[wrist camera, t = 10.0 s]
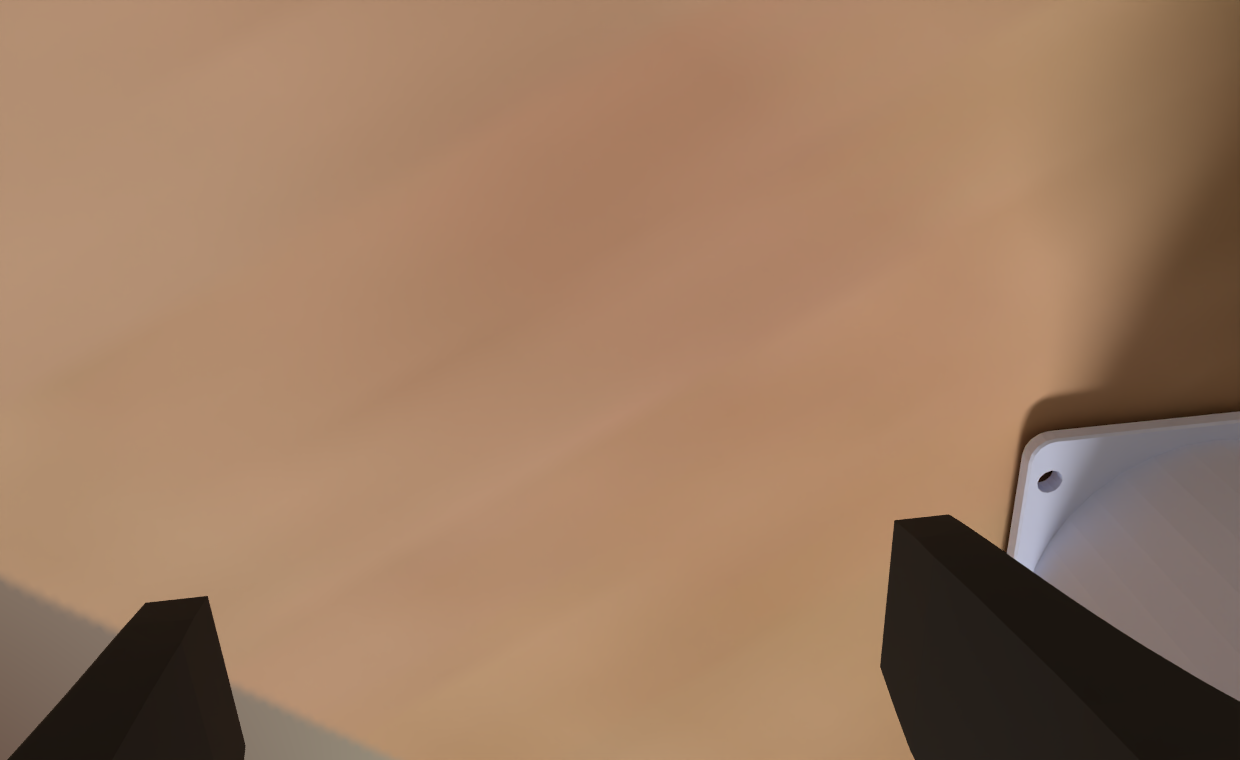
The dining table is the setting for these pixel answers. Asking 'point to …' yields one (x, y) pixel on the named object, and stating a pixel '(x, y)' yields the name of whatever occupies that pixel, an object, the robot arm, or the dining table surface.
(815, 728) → the dining table surface
